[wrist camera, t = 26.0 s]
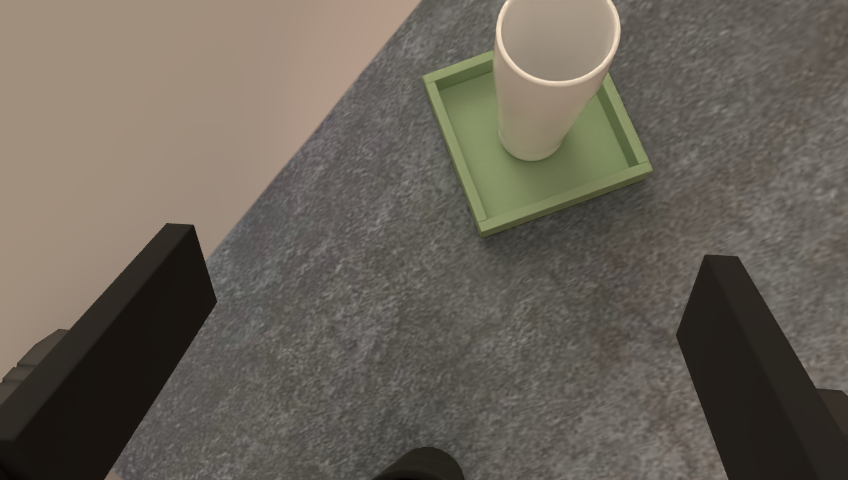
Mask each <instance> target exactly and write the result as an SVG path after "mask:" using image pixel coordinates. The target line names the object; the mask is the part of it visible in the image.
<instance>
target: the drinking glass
mask: <svg viewBox="0 0 848 480" xmlns="http://www.w3.org/2000/svg"><path fill="white" fill-rule="evenodd" d="M620 32H621V30H620V20H619V16H618V13H617V10H616V8H615V6H614V4H613V3H612V1H611V0H507V1H506V2H505V4H504V6H503V7H502V9H501V11H500V14H499V17H498V20H497V26H496V32H495V39H494V48H493V78H494V87H495V96H496V104H497V113H498V136H499V139H500V142H501V144H502V146H503V147H504V148H505V150H506V151H507V152H508V153H510V154H511V155H512V156H514V157H516V158H518V159H521V160H525V161H538V160H542V159H545V158H547V157H549V156H551V155H552V154H553V153H555V152H556V151H557V150H558V148H559V147H560V146H561V144H562V142H563V141H564V138H565V136H566V135H567V133H568V132H569V131H570V129H571V128H572V126H573V125H574V124H575V122H576V121H577V119H578V118H579V117H580V115H581V114H582V113H583V111H584V110H585V109H586V107H587V106H588V104H589V103H590V102H591V100H592V99H593V97H594V96H595V94H596V93H597V91H598V90H599V88H600V86H601V84H602V82H603V81H604V79H605V77H606V75H607V72H608V70H609V68H610V65H611V63H612V61H613V58H614V55H615V53H616V50H617V48H618V44H619V40H620Z"/></svg>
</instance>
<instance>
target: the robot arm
mask: <svg viewBox="0 0 848 480" xmlns="http://www.w3.org/2000/svg"><path fill="white" fill-rule="evenodd" d="M216 303H217V300H216V296H215V293H214V290H213V287H212V283H211V280H210V277H209V273H208V270H207V267H206V264H205V260H204V257H203V254H202V251H201V248H200V244H199V241H198V237H197V234H196V231H195V227H194V225H189V224H188V225H187V224H172V223H171V224H170V223H166V225H165V226H164V227H163V228H162V229H161V230H160V231H159V232H158V233H157V234H156V235H155V237H154V238H153V239H152V240H151V241H150V242H149V243H148V244H147V245H146V246H145V248H144V249H143V250H142V251H141V252H140V253H139V254H138V255H137V256H136V257H135V259H134V260H133V261H132V262H131V263H130V264H129V265H128V266H127V267H126V269H124V271H123V272H122V273H121V274H120V275H119V276H118V277H117V278H116V279H115V280H114V282H113V283H112V284H111V285H110V286H109V287H108V288H107V289H106V290H105V291H104V293H103V294H102V295H101V296H100V297H99V298H98V299H97V300H96V301H95V302H94V303H93V305H92V306H91V307H90V308H89V309H88V310H87V311H86V312H85V313H84V314H83V316H82V317H81V318H80V319H79V320H78V321H77V322H76V323H75V324H74V326H73V327H72V328H71V329H70V330H63V329H58V330H57V331H55V332H54V333H52V334H51V335H49V336H47V337H46V338H45V339H43V340H41V341H40V342H38V343H37V344H35V345H34V346H33V347H32V348H31V349H30V350H29V351H28V352H27V354H26V355H25V356H24V357H23V358H22V359H21V360H20V361H19V362H18V363H17V367H13V368H12V369H11V370H10V371H9V372H8V374H6V376H5V377H4V378H3V381H2V383H0V480H104V479H105V477H106V476H107V474H108V473H109V471H110V470H111V468H112V467H113V465H114V463H115V462H116V460H117V459H118V457H119V456H120V454H121V452H122V451H123V449H124V448H125V446H126V445H127V443H128V441H129V440H130V438H131V437H132V435H133V434H134V432H135V430H136V429H137V427H138V426H139V424H140V423H141V421H142V419H143V418H144V416H145V415H146V413H147V412H148V410H149V408H150V407H151V405H152V404H153V402H154V401H155V399H156V397H157V396H158V394H159V393H160V391H161V390H162V388H163V386H164V385H165V383H166V382H167V380H168V379H169V377H170V375H171V374H172V372H173V371H174V369H175V368H176V366H177V364H178V363H179V361H180V360H181V358H182V357H183V355H184V353H185V352H186V350H187V349H188V347H189V346H190V344H191V342H192V341H193V339H194V338H195V336H196V335H197V333H198V331H199V330H200V328H201V327H202V325H203V324H204V322H205V320H206V319H207V317H208V316H209V314H210V313H211V311H212V309H213V308H214V306H215V305H216ZM676 337H677V340H678V343H679V345H680V348H681V351H682V354H683V356H684V359H685V362H686V364H687V367H688V370H689V373H690V375H691V378H692V381H693V384H694V386H695V389H696V392H697V395H698V397H699V400H700V403H701V406H702V408H703V411H704V414H705V416H706V419H707V422H708V425H709V427H710V430H711V433H712V436H713V438H714V441H715V444H716V447H717V449H718V452H719V455H720V458H721V460H722V463H723V466H724V469H725V471H726V474H727V477H728V479H729V480H848V396H847V395H846V394H845V393H844V392H843V391H841V390H829V389H817V388H816V387H815V386H814V384H813V382H812V381H811V379H810V377H809V376H808V374H807V372H806V371H805V369H804V367H803V366H802V364H801V362H800V360H799V359H798V357H797V355H796V354H795V352H794V350H793V349H792V347H791V345H790V344H789V342H788V340H787V339H786V337H785V335H784V333H783V332H782V330H781V328H780V327H779V325H778V323H777V322H776V320H775V318H774V317H773V315H772V313H771V312H770V310H769V308H768V306H767V305H766V303H765V301H764V300H763V298H762V296H761V295H760V293H759V291H758V290H757V288H756V286H755V285H754V283H753V281H752V279H751V278H750V276H749V274H748V273H747V271H746V269H745V268H744V266H743V264H742V263H741V261H740V259H739V258H738V256H722V255H705V256H704V258H703V261H702V264H701V267H700V270H699V272H698V275H697V278H696V281H695V283H694V286H693V289H692V292H691V295H690V297H689V300H688V303H687V306H686V309H685V311H684V314H683V317H682V320H681V323H680V325H679V328H678V331H677V334H676Z"/></svg>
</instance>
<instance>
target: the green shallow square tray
mask: <svg viewBox="0 0 848 480" xmlns="http://www.w3.org/2000/svg"><path fill="white" fill-rule="evenodd" d="M422 78H423V83H424V88H425V92H426V95H427V97H428V100H429V103H430V105H431V108H432V110H433V113H434V116H435V118H436V121H437V124H438V126H439V129H440V132H441V134H442V137H443V140H444V142H445V145H446V148H447V150H448V153H449V155H450V158H451V161H452V163H453V166H454V169H455V171H456V174H457V177H458V179H459V182H460V185H461V187H462V190H463V192H464V195H465V198H466V200H467V203H468V206H469V208H470V211H471V214H472V216H473V219H474V222H475V224H476V227H477V229H478V232H479V235H480V237H481V238H484V237H486V236H489V235H492V234H495V233H498V232H500V231H503V230H506V229H509V228H511V227H514V226H517V225H520V224H523V223H525V222H528V221H531V220H534V219H536V218H539V217H542V216H545V215H547V214H550V213H553V212H556V211H559V210H561V209H564V208H567V207H570V206H572V205H575V204H578V203H581V202H583V201H586V200H589V199H592V198H595V197H597V196H600V195H603V194H606V193H608V192H611V191H614V190H617V189H619V188H622V187H625V186H628V185H631V184H633V183H636V182H639V181H642V180H643V179H644V178H645V177H646V176H647V175H648V174H650V173H651V172H652V171H653V169H652V167H651V165H650V162H649V161H648V158H647V156H646V154H645V151H644V149H643V147H642V145H641V143H640V140H639V138H638V136H637V134H636V132H635V130H634V127H633V125H632V123H631V121H630V119H629V116H628V114H627V112H626V110H625V108H624V105H623V103H622V101H621V99H620V97H619V95H618V92H617V90H616V88H615V86H614V84H613V81H612V79H611V77H610V75H609V73H608V72H607V75H606V77H605V79H604V81H603V82H602V84H601V86H600V88H599V90H598V91H597V93H596V94H595V96H594V97H593V99H592V100H591V102H590V103H589V104H588V106H587V107H586V109H585V110H584V111H583V113H582V114H581V115H580V117H579V118H578V119H577V121H576V122H575V124H574V125H573V126H572V128H571V129H570V131H569V132H568V133H567V135H566V136H565V138H564V141H563V142H562V144H561V146H560V147H559V148H558V150H557V151H556V152H555V153H553V154H552V155H551V156H549V157H547V158H545V159H542V160H538V161H525V160H521V159H518V158H516V157H514V156H512V155H511V154H510V153H508V152H507V151H506V150H505V148H504V147H503V146H502V144H501V142H500V139H499V136H498V113H497V104H496V96H495V87H494V78H493V50H492V51H489V52H486V53H484V54H481V55H478V56H476V57H473V58H470V59H467V60H465V61H462V62H459V63H457V64H454V65H451V66H449V67H446V68H443V69H440V70H438V71H435V72H432V73H430V74H427V75H424V76H422Z"/></svg>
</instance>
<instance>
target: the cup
mask: <svg viewBox="0 0 848 480" xmlns="http://www.w3.org/2000/svg"><path fill="white" fill-rule="evenodd" d="M373 480H464V477H463V474H462V471H461V469H460V467H459V465H458V464H457V462H456V461H455V460H454V459H453V458H452V457H451V456H450V455H449V454H447V453H445V452H444V451H442V450H440V449H436V448H433V447H422V448H418V449H414V450H412V451H410V452H408V453H407V454H405V455H404V456H403V457H402V458H400V459H399V460H398V461H396V462H395V463H394V464H392V465H391V466H390V467H388V468H387V469H386V470H385V471H383V472H382V473H381V474H379V475H378V476H377V477H375V478H374V479H373Z"/></svg>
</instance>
